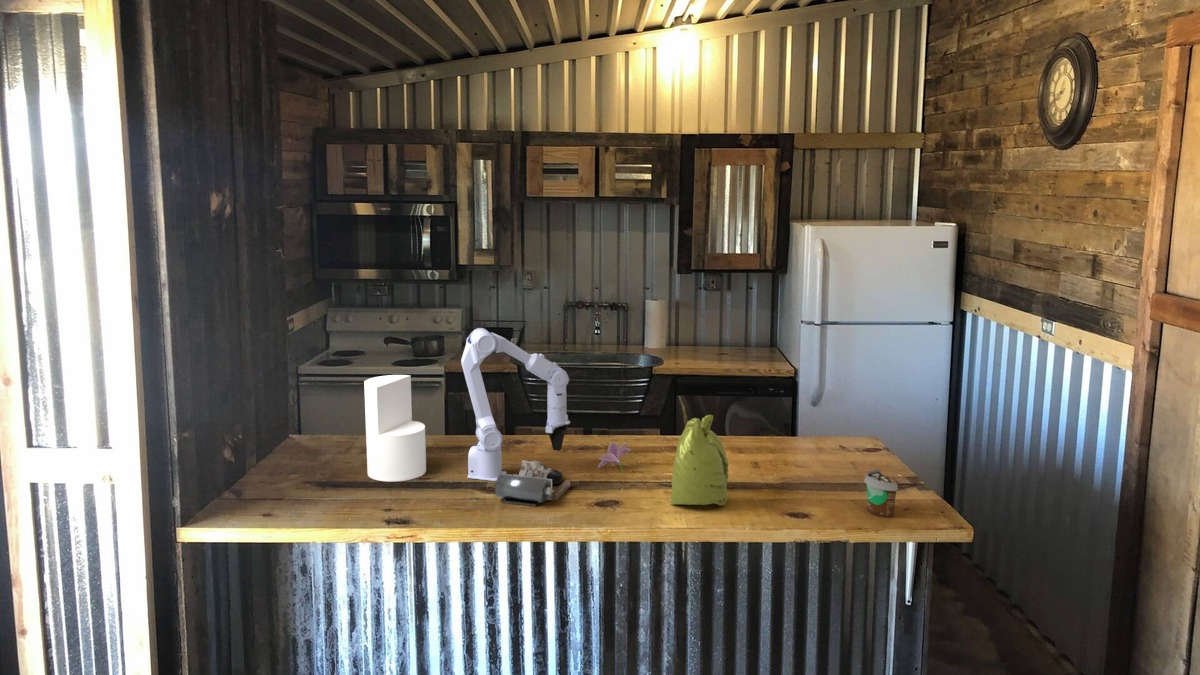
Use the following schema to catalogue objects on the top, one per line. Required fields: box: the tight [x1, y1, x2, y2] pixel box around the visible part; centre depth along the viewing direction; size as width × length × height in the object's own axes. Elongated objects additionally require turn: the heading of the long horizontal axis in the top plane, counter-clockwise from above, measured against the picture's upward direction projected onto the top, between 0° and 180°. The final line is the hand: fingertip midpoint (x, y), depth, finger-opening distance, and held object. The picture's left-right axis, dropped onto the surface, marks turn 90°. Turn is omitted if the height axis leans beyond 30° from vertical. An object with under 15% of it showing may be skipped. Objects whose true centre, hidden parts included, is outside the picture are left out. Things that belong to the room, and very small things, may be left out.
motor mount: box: [494, 473, 571, 507], centre depth 255 cm, size 17×19×7 cm
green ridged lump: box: [670, 414, 729, 506], centre depth 253 cm, size 25×16×24 cm, turn 170°
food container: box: [863, 468, 898, 519], centre depth 244 cm, size 12×6×10 cm, turn 5°
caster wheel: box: [518, 459, 564, 485], centre depth 265 cm, size 7×11×10 cm
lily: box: [597, 441, 632, 474], centre depth 277 cm, size 12×12×10 cm
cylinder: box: [363, 374, 427, 482], centre depth 272 cm, size 17×17×28 cm
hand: (557, 449), depth 276 cm, fingers closed
